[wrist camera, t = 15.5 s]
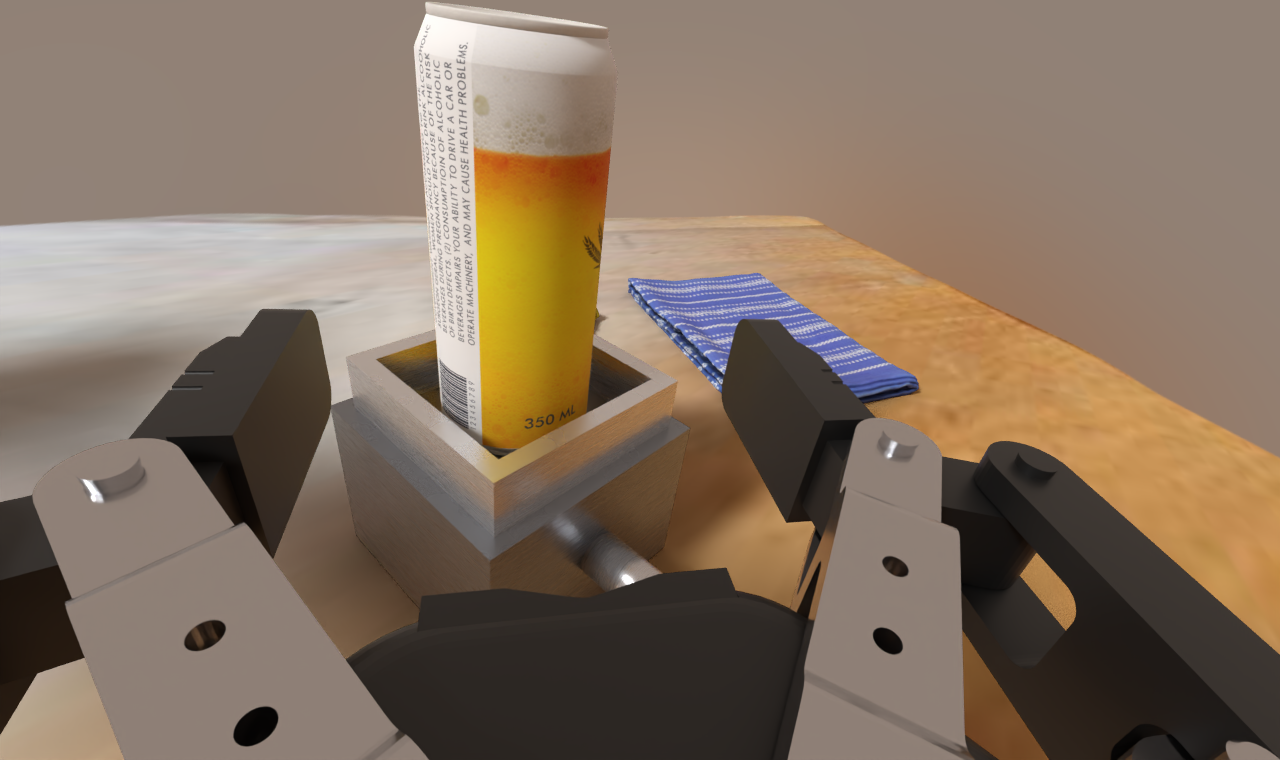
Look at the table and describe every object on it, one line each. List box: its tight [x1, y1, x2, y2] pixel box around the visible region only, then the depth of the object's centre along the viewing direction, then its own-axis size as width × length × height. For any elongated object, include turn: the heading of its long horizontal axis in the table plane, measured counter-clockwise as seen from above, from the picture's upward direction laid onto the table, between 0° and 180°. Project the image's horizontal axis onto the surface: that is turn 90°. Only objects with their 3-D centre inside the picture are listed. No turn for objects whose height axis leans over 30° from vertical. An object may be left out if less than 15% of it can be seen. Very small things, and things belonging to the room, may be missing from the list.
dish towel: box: [628, 273, 919, 403], centre depth 52 cm, size 17×24×3 cm
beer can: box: [414, 2, 618, 456], centre depth 21 cm, size 6×6×15 cm
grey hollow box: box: [331, 330, 690, 609], centre depth 26 cm, size 15×11×10 cm
